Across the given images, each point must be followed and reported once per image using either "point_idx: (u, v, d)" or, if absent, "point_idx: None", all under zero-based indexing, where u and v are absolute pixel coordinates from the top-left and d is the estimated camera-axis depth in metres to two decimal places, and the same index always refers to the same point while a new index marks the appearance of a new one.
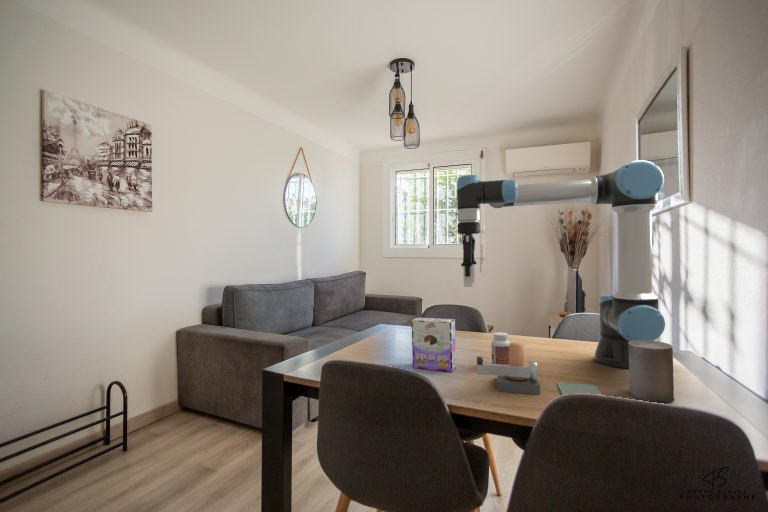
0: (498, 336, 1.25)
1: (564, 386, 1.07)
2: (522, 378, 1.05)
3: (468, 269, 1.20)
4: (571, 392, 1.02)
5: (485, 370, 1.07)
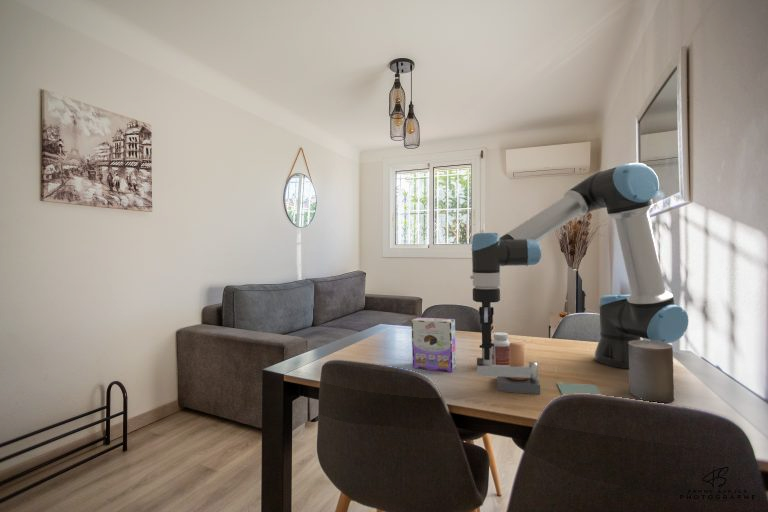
0: (498, 336, 1.25)
1: (564, 386, 1.07)
2: (522, 378, 1.05)
3: (487, 352, 1.06)
4: (571, 392, 1.02)
5: (485, 371, 1.06)
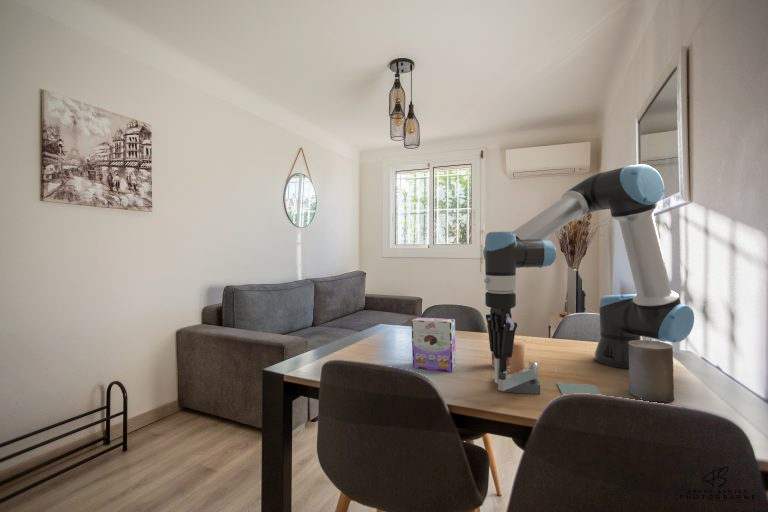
0: None
1: (564, 386, 1.07)
2: None
3: (505, 362, 0.96)
4: (571, 392, 1.02)
5: (508, 384, 0.96)
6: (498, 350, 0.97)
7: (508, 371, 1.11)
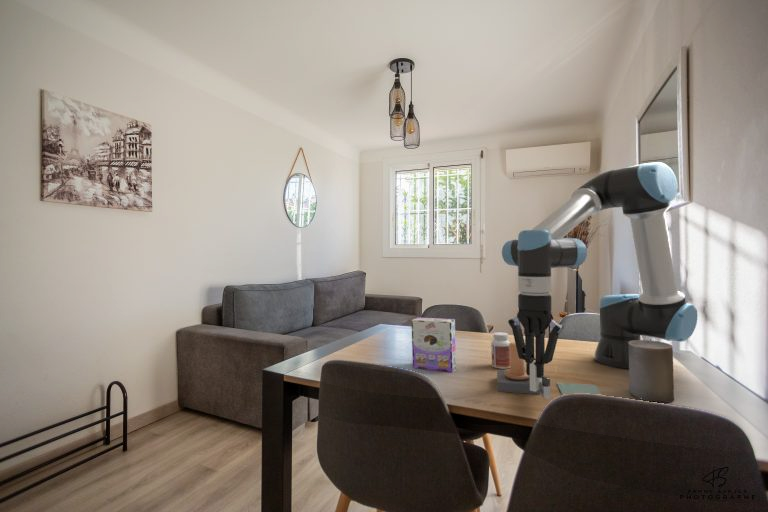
0: (498, 336, 1.25)
1: (564, 386, 1.07)
2: (522, 378, 1.05)
3: (543, 368, 0.91)
4: (571, 392, 1.02)
5: None
6: (537, 356, 0.91)
7: (508, 371, 1.11)
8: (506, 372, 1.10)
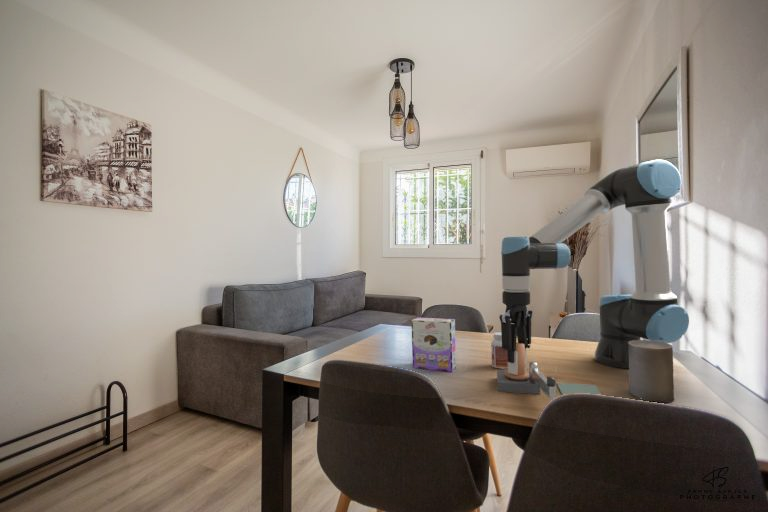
0: (498, 336, 1.25)
1: (564, 386, 1.07)
2: (522, 378, 1.05)
3: (510, 355, 1.06)
4: (571, 392, 1.02)
5: None
6: None
7: None
8: (506, 372, 1.10)
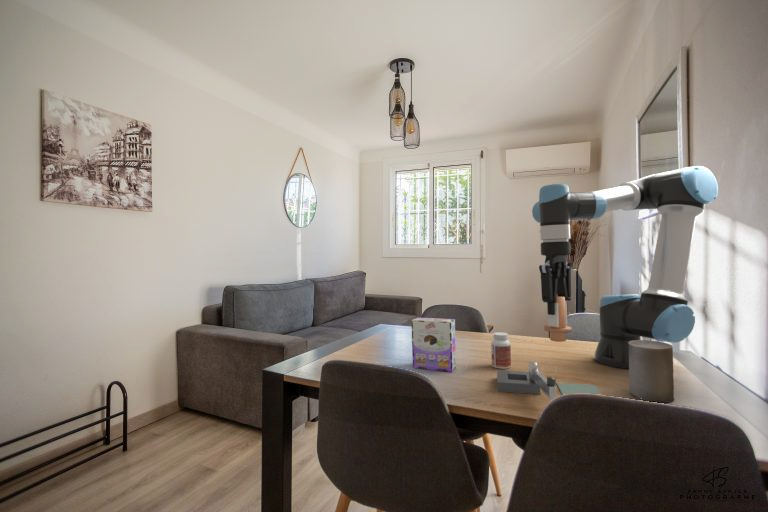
0: (498, 336, 1.25)
1: (564, 386, 1.07)
2: (564, 330, 1.02)
3: (551, 306, 1.03)
4: (571, 392, 1.02)
5: None
6: None
7: (547, 325, 1.07)
8: (546, 326, 1.06)
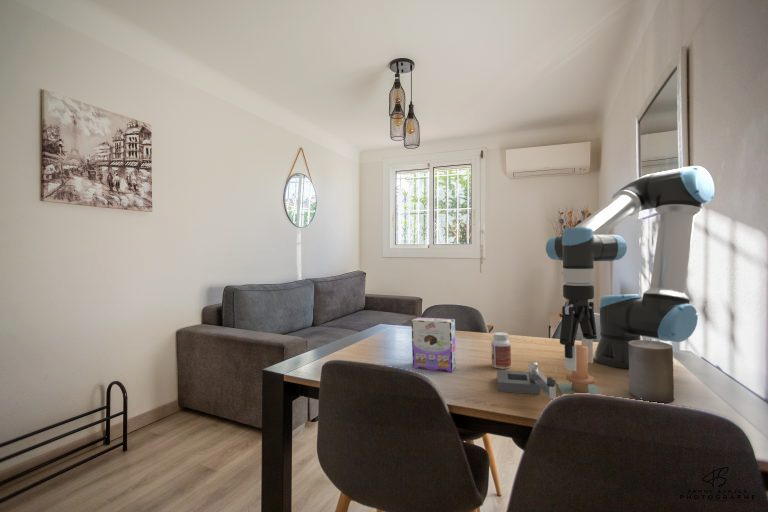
0: (498, 336, 1.25)
1: (564, 386, 1.07)
2: (587, 382, 1.00)
3: (568, 349, 0.99)
4: (571, 392, 1.02)
5: None
6: None
7: (569, 374, 1.05)
8: (567, 375, 1.04)
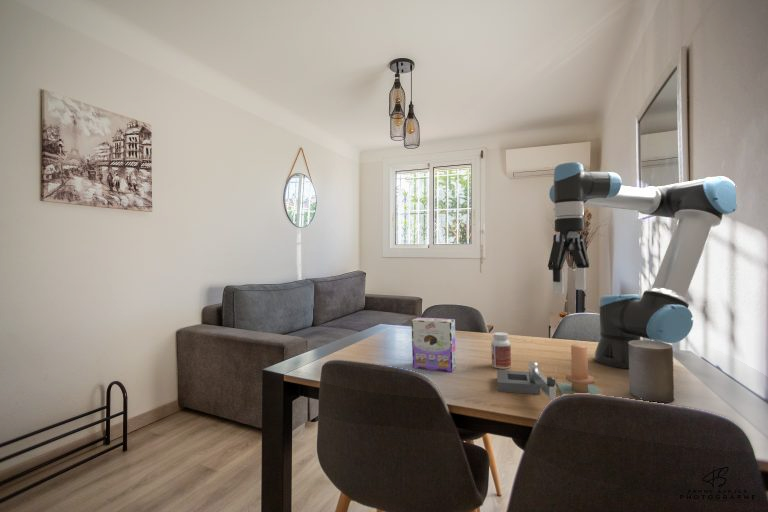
0: (498, 336, 1.25)
1: (564, 386, 1.07)
2: (587, 382, 1.00)
3: (556, 273, 1.04)
4: (571, 392, 1.02)
5: None
6: None
7: (569, 375, 1.05)
8: (567, 376, 1.05)
